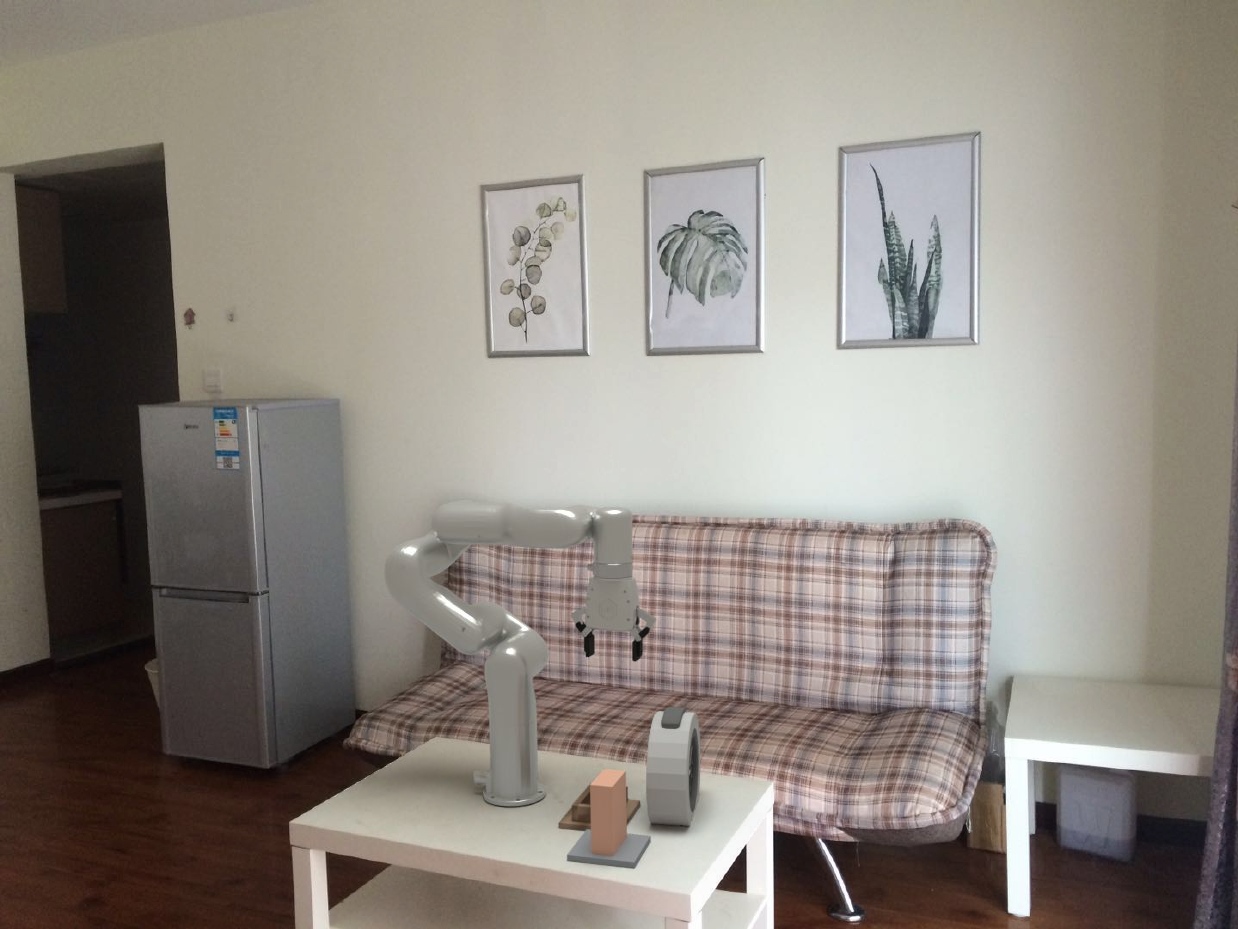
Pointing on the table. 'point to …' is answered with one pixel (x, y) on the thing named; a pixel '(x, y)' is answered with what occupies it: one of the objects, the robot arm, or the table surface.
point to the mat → (623, 857)
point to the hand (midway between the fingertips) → (613, 657)
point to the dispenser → (581, 812)
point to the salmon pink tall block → (608, 812)
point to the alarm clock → (673, 767)
